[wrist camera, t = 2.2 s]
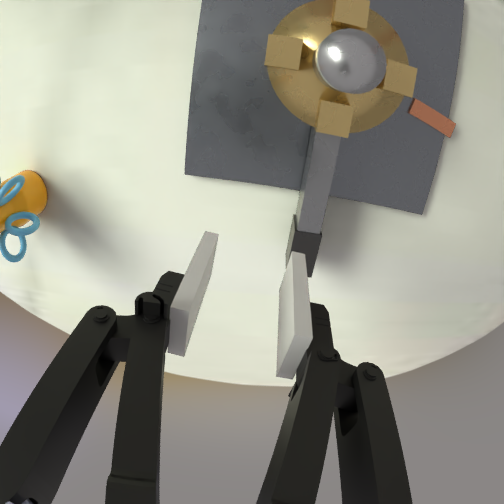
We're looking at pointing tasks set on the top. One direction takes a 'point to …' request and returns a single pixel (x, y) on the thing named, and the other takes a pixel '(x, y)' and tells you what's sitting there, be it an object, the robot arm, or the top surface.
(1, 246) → the cylinder
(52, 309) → the top surface
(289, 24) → the brass knob with lugs
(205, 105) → the flat plate
